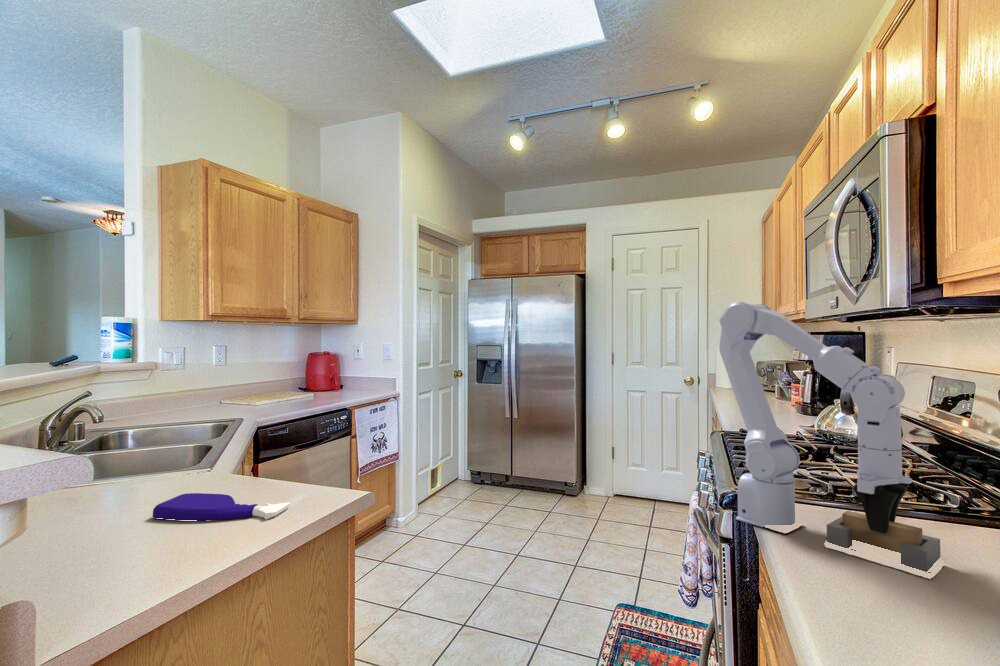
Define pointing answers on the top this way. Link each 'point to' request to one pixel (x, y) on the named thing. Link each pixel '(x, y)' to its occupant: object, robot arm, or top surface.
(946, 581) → the top surface
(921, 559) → the end caps
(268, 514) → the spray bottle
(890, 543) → the slat
